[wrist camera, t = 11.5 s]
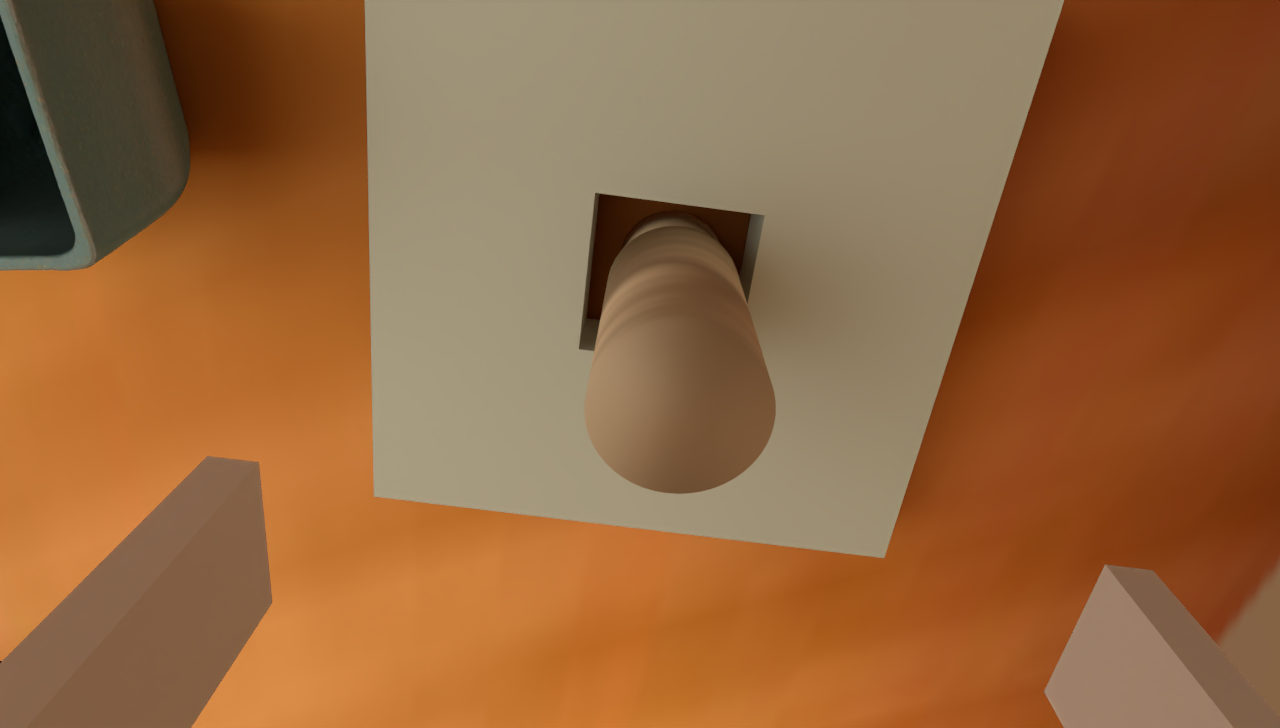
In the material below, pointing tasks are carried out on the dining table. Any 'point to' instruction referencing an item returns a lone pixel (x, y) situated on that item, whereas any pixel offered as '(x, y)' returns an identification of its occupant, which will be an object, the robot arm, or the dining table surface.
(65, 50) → the flower pot
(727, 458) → the peg
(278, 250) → the dining table surface
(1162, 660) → the robot arm
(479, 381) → the board
